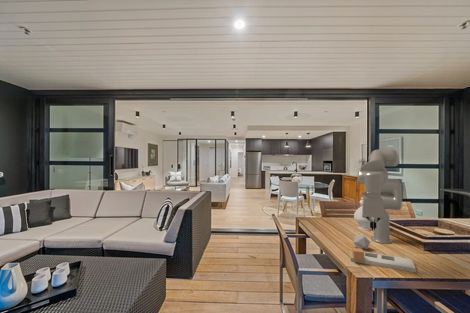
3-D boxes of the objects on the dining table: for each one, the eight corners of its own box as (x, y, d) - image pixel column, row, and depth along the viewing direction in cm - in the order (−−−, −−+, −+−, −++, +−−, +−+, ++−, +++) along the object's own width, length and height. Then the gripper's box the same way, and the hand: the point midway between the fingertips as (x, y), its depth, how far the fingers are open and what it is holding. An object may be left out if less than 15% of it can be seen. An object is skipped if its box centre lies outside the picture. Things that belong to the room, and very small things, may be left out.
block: (352, 256, 134) (352, 247, 134) (362, 257, 133) (361, 248, 133) (353, 259, 129) (353, 251, 129) (364, 260, 128) (363, 252, 128)
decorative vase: (362, 224, 207) (361, 195, 208) (383, 229, 192) (383, 198, 192) (349, 227, 198) (349, 197, 199) (371, 232, 183) (370, 200, 183)
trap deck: (351, 253, 144) (351, 249, 144) (411, 262, 130) (411, 259, 130) (350, 261, 132) (350, 257, 132) (415, 272, 118) (415, 268, 118)
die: (369, 253, 144) (374, 238, 148) (355, 245, 146) (360, 230, 149) (362, 253, 152) (367, 239, 156) (348, 245, 154) (354, 231, 157)
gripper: (357, 195, 130) (357, 229, 130) (389, 197, 123) (390, 233, 123) (357, 193, 137) (357, 225, 137) (388, 195, 130) (388, 229, 130)
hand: (373, 229), depth 130 cm, fingers closed
